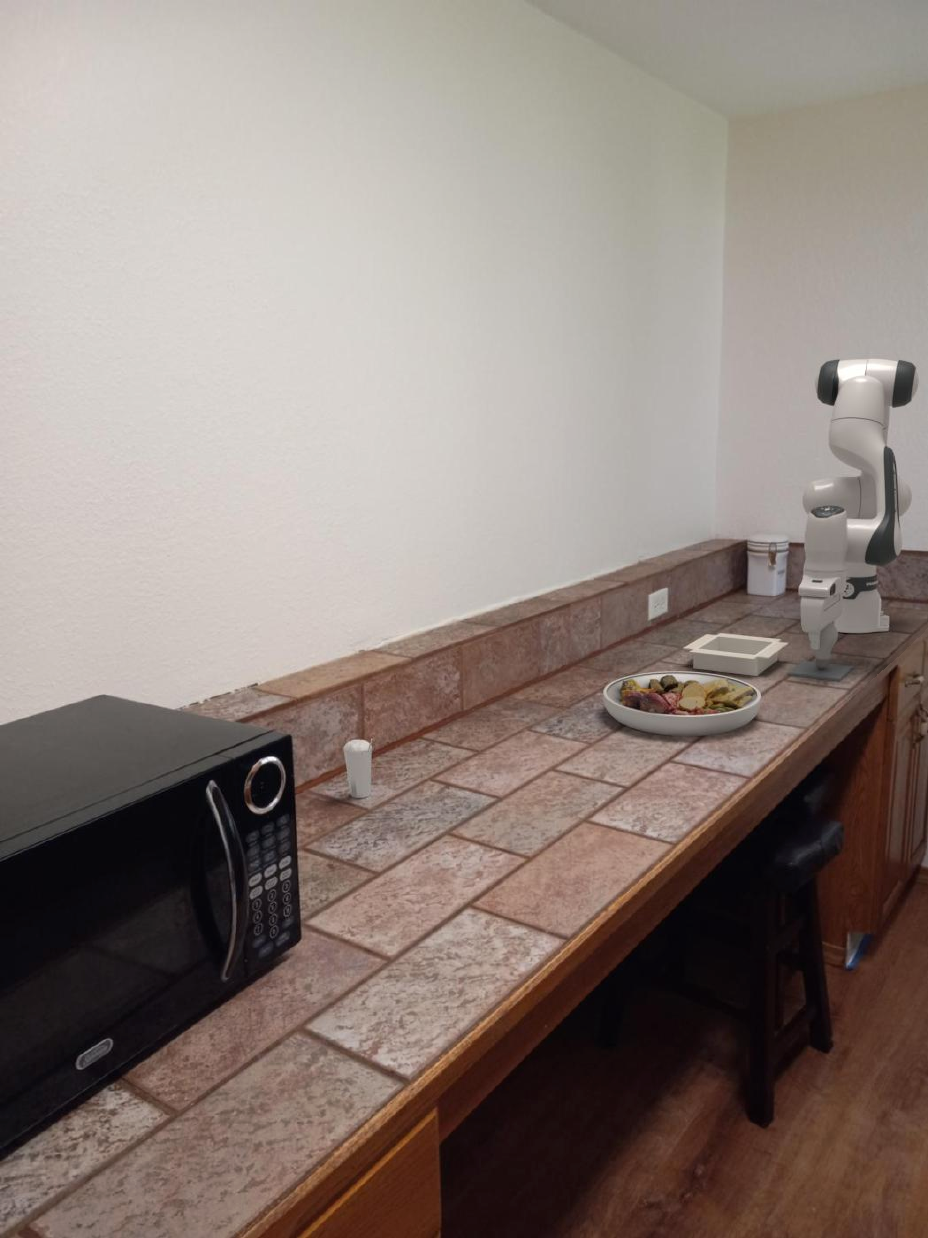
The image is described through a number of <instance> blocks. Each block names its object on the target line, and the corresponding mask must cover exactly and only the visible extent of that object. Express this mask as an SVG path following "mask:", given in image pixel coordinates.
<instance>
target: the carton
mask: <svg viewBox="0 0 928 1238" xmlns="http://www.w3.org/2000/svg"><path fill="white" fill-rule="evenodd" d="M789 644H790V643H789V642H786V641H785V642H783V641H782V639H780V638H771V637H761V636H751V635H743V634H735V633H734V634H733V633H724V632H723V633H722V632H720V633H718V634H708V633H706V634H704V635H702V636H701V637H699V638H697V639H696V640H694V641H692V642H690V643H689V644H687V645H686V646H684V647H683V648H682V649H683V650H688V651H689V650H690V651H689V654H693V655H692V656H693V658H692V659H693V663H692V666H693V669H699V670H705V671H713V672H719V673H720V672H722V673H729V674H735V675H736V674H737V675H743V676H744V675H745V676H752V677H758V676H759V675H760V674H761V673H763V672H764V671H765V670H767V669H768V668H769V667H771V666H772V665H773V664H775V663H776V662H777V661H778V653H779V652H780V651H782V650H783V649H784V648H786V647H787V646H788V645H789Z"/></svg>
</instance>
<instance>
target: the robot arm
mask: <svg viewBox="0 0 928 1238" xmlns="http://www.w3.org/2000/svg"><path fill="white" fill-rule="evenodd" d="M917 371H918V370H917V367H916V366H915V364H914V363H913V362H911V361H907V360H904V359H903V360H902V359H898V360H892V359H886V358H885V359H884V358H873V357H872V358H861V359H860V358H859V359H857V358H856V359H855V358H853V359H844V360H840V359H832V360H828V361H825V363H823V364H822V365H821V366H820V369H819V371H818V373H817V375H816V378H815V380H814V381H815V383H814V386H815V393H816V394H817V395H816V396H817V399H818V400H819V401H820V402H821V403H822V404H824V405H827V406H831V407H833V408H832V413H831V419H830V424H829V431H828V446H829V449H830V452H831V453H832V454H833V456H834V457H836V459H838V460H839V461H841V462H842V463H843V464H845V465H847V466H849V467H851V468H853V469H854V468H855V469H857V470H859V471H861V472H860V475H859V476H837V477H836V476H834V477H833V476H831V477H827V478H819V479H816V480H812V481H810V482H809V483H808V484H807V486H806V488H805V490H804V491H803V495H802V507H803V508H804V511H805V513H806V514H807V520H806V524H805V525H806V526H805V530H804V531H805V532H804V544H803V545H804V547H803V549H804V555H805V560H804V564H803V568H802V570H803V571H802V572H803V573H802V580H801V582H800V584H799V585H798V596H800V597H801V598H800V626H801V628H802V629H801V630H802V631H803V632H805V633H807V632H808V633H809V636H810V640H811V642H810V650H811V649H812V650H814V649H815V650H818V649H819V648H820V647H821V640H820V634H821V630H822V629H824V628H825V627H826V626H828V625H829V624H830V623H832V624H833V625H834V626H835V627H836V629H837V631H838V633H845V634H846V633H847V634H868V633H875V632H876V633H877V632H889V631H890V616H889V615H888V614H887V615H886V614H885V611H884V610H882V598H881V595H880V592H879V591H878V587H879V584H878V583H879V579H878V572H877V567H883V568H885V566H887V565H888V566H889V565H890V564H891V563H892V562H894V561H895V560H896V559H897V558H899V557H900V555H901V551H902V547H903V537H902V532H901V524H900V517H902V516H904V515H905V514H906V512H907V511H908V510H909V508H910V506H911V503H912V496H913V495H912V491H911V488H910V486H909V484H908V483H907V481H906V480H905V479H904V478H902V477H901V476H899V475H898V470H897V462H896V456H895V453H894V451H893V449H892V447H889V446H888V434H889V427H890V426H889V425H890V413H891V408H890V407H892V408H893V409H894V408H900V407H905V406H906V405H909V404H910V403H911V402H912V400H913V398H914V397H915V395H916V393H917V391H918V387H919V375H918V372H917ZM809 636H808V637H809ZM810 640H809V641H810Z"/></svg>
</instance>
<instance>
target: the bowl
mask: <svg viewBox="0 0 928 1238" xmlns="http://www.w3.org/2000/svg"><path fill="white" fill-rule="evenodd" d="M602 698H603V704H604V707H605V709H606V710H607V712H608V713H609V715H611V716H612V717H613V718H614V719H615V720H616V721H618V722H619V723H621V724H622V725H624V726H627V727H628V728H631V729H634V730H637V731H641V732H645V733H650V734H656V735H661V736H670V737H673V736H674V737H701V736H702V737H703V736H704V737H705V736H712V735H713V736H714V735H719V734H723V733H728V732H732V731H734V730H738V729H739V728H741V727H744V726H745V725H747V724H749V723H750V722H751V721H752V720H753V719H754V718H755V717H756V716H757V714H758V713H759V710H760V707H761V703H762V694H761V692H760V690H759V689H758V688H756V687H755V686H754V685H752V684H751V683H749V682H746V681H744V680H740V679H738V678H735V677H731V676H726V675H722V674H717V673H716V674H715V673H708V672H698V671H686V670H683V671H681V670H677V671H676V670H670V671H667V670H666V671H653V672H652V671H651V672H645V673H644V672H643V673H637V674H632V675H628V676H624V677H621V678H617V679H615V680H613V681H610V683H607V684H606V685H605V687H604V688H603V691H602Z"/></svg>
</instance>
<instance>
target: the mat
mask: <svg viewBox="0 0 928 1238" xmlns="http://www.w3.org/2000/svg"><path fill="white" fill-rule="evenodd" d="M853 669H854V667H853V666H851V665H845V664H836V663H835V664H834V663H828V667H827V668H825V669H824V670H820V669H819V668H818V667H816V661H810V660H809V661H808V660H807V661H806V660H802V661H800V662H799V663H798V664H796V666H794V667H793V668H791V669H790V670H789V671H788V672H787V675H788V676H793V677H801V678H808V679H816V680H817V679H818V680H826V681H834V682H842V680H843V679H844V678H845V677H846V676H847V675H848V674H849V673H850V672H851V671H853Z"/></svg>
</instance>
